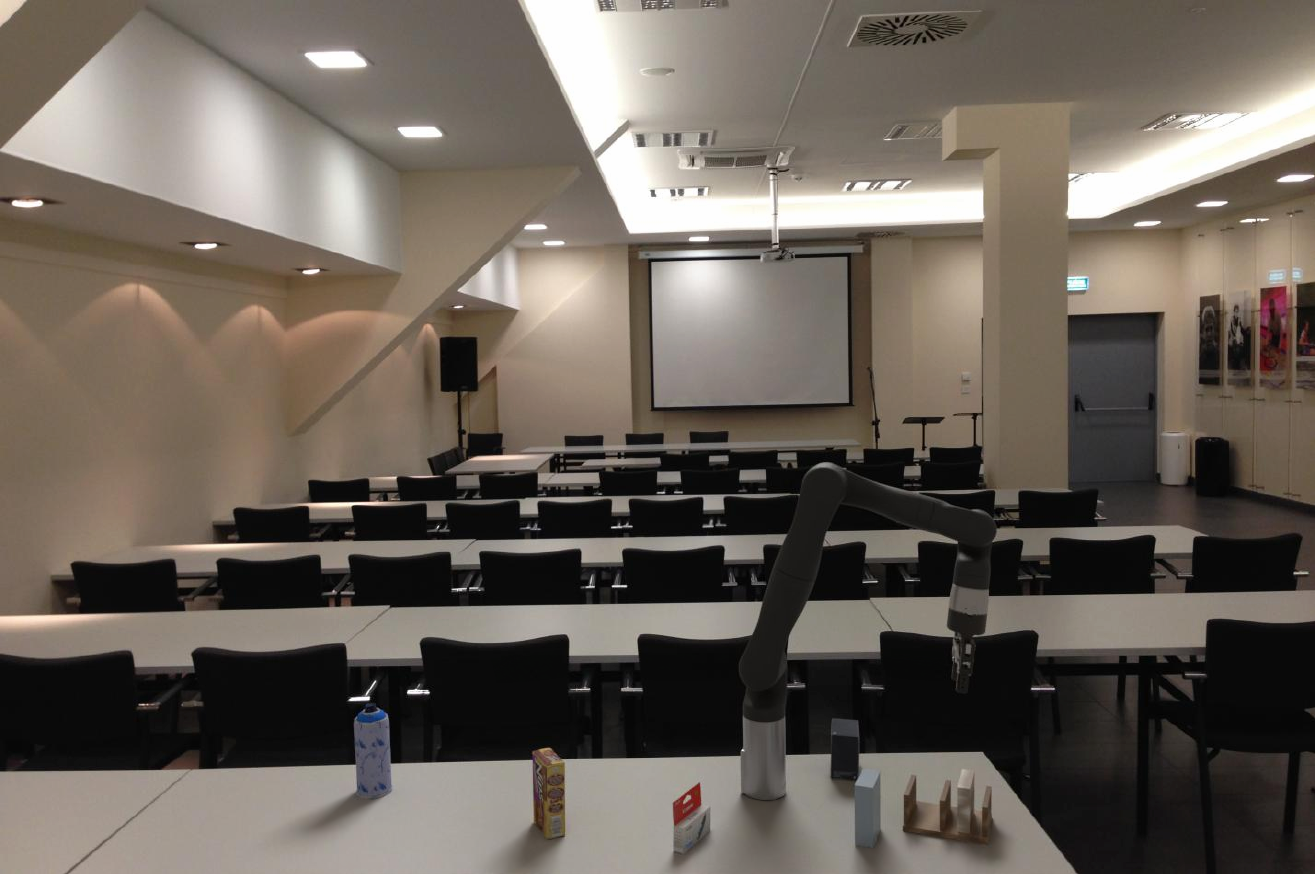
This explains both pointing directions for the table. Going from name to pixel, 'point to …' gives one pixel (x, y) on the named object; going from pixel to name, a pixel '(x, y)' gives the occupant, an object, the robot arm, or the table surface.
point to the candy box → (549, 792)
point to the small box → (844, 749)
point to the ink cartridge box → (690, 820)
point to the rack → (949, 812)
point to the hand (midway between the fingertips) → (959, 686)
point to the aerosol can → (372, 753)
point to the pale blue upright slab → (867, 808)
